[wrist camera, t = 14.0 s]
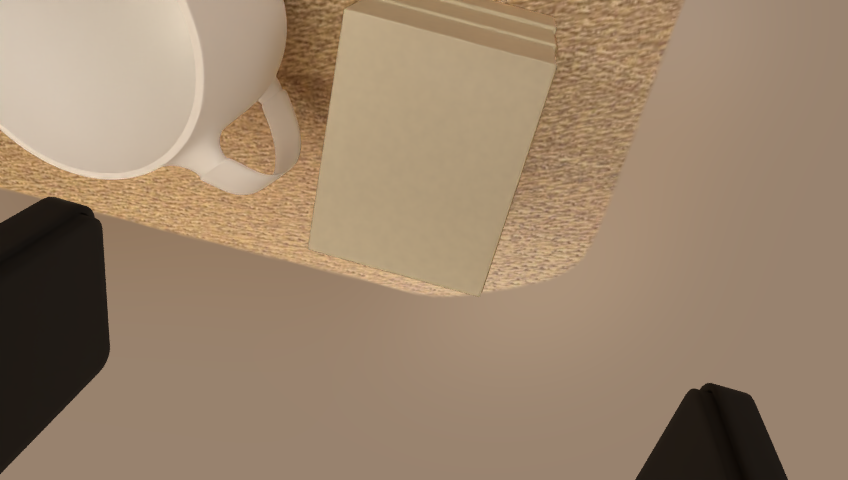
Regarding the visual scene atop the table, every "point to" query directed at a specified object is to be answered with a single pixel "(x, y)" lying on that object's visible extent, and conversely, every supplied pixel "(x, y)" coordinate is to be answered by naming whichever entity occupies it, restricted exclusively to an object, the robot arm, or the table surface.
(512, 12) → the ivory books
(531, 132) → the ivory book
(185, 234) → the table surface
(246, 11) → the mug
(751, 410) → the robot arm
